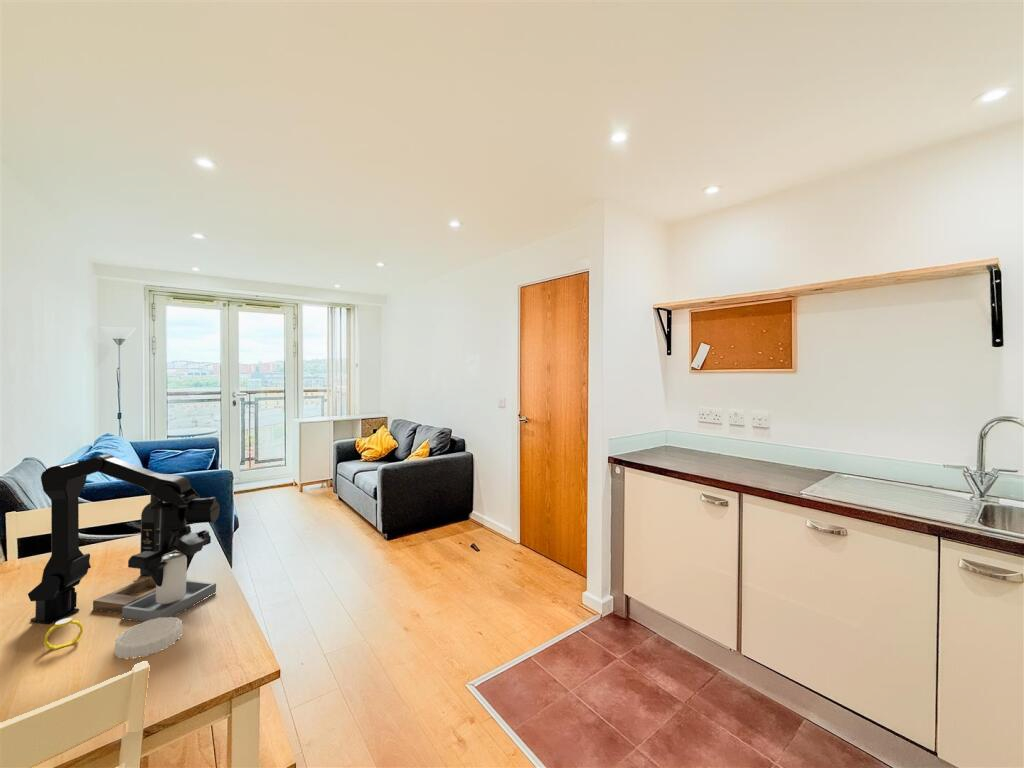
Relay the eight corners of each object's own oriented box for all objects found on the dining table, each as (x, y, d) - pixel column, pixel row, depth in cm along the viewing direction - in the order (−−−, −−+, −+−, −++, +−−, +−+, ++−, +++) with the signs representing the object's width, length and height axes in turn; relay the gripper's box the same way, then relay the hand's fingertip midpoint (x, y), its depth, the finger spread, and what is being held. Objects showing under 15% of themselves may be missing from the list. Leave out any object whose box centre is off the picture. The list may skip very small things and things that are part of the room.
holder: (125, 614, 110) (125, 604, 110) (93, 609, 111) (93, 600, 111) (186, 584, 126) (186, 575, 126) (157, 580, 128) (157, 572, 128)
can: (159, 607, 109) (160, 562, 110) (152, 599, 113) (154, 555, 114) (189, 598, 115) (190, 554, 115) (181, 591, 118) (183, 549, 119)
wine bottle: (155, 576, 131) (157, 481, 131) (137, 576, 131) (139, 481, 131) (170, 568, 137) (172, 477, 137) (153, 568, 137) (155, 477, 137)
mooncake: (175, 623, 106) (175, 609, 106) (188, 641, 99) (188, 626, 99) (110, 645, 97) (111, 630, 97) (119, 668, 89) (120, 651, 89)
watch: (45, 655, 93) (42, 630, 93) (45, 650, 95) (43, 625, 95) (83, 642, 98) (81, 617, 97) (83, 637, 99) (81, 613, 99)
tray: (160, 624, 105) (160, 612, 105) (121, 619, 107) (122, 607, 107) (215, 593, 121) (216, 583, 121) (181, 589, 123) (181, 579, 123)
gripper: (163, 538, 104) (161, 600, 103) (227, 515, 122) (226, 568, 122) (127, 534, 106) (125, 596, 105) (195, 513, 124) (194, 565, 124)
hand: (171, 580), depth 114 cm, fingers closed on can, 6 cm apart
